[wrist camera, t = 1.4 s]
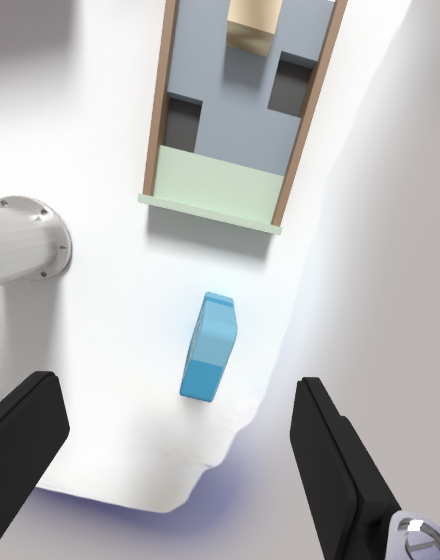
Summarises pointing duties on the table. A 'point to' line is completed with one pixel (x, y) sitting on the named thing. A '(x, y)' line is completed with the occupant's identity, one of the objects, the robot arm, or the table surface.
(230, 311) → the data package
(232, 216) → the box
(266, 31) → the maple block
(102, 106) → the table surface
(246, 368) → the table surface
